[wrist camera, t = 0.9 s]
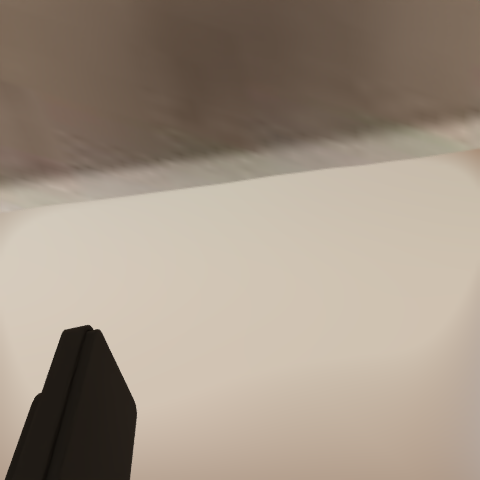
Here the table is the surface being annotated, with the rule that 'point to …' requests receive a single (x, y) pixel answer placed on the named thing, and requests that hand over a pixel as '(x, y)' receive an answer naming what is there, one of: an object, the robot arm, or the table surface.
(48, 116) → the table surface
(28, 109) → the table surface
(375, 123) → the table surface
